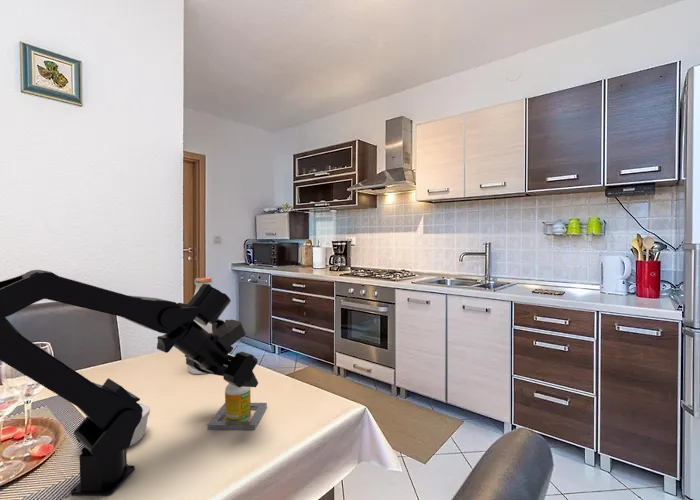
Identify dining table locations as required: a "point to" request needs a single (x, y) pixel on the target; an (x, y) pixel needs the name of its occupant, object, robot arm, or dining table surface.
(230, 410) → the supplement bottle
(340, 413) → the dining table surface
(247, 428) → the frame
